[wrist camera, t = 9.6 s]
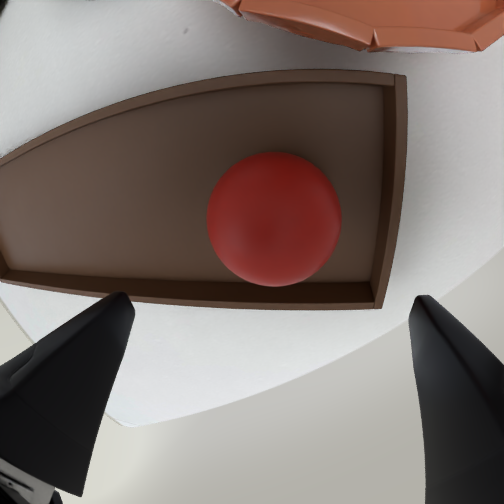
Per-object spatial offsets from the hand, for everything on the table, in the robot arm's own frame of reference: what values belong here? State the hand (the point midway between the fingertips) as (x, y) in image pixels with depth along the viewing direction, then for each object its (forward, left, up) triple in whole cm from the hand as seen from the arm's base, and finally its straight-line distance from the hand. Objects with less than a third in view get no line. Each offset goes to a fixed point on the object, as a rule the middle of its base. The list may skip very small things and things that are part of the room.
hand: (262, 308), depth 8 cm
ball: (0, 0, -9) cm, 9 cm away
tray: (+9, +11, -9) cm, 17 cm away
